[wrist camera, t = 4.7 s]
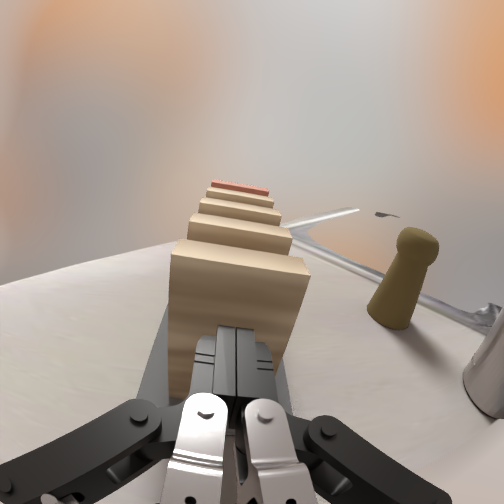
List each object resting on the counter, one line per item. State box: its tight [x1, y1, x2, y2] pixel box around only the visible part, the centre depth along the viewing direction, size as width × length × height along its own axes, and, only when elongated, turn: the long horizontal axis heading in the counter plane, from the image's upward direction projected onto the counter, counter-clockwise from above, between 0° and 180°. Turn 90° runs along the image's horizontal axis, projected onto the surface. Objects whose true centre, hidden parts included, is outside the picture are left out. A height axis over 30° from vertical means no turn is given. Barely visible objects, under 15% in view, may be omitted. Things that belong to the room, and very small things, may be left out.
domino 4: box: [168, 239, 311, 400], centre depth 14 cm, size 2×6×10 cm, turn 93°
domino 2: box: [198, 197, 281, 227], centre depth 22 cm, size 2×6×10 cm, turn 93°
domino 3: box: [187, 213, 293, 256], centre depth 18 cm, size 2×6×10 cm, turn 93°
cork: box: [367, 227, 439, 330], centre depth 28 cm, size 6×6×11 cm
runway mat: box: [136, 305, 293, 435], centre depth 24 cm, size 24×10×1 cm, turn 3°
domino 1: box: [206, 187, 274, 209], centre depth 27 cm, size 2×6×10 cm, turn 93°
